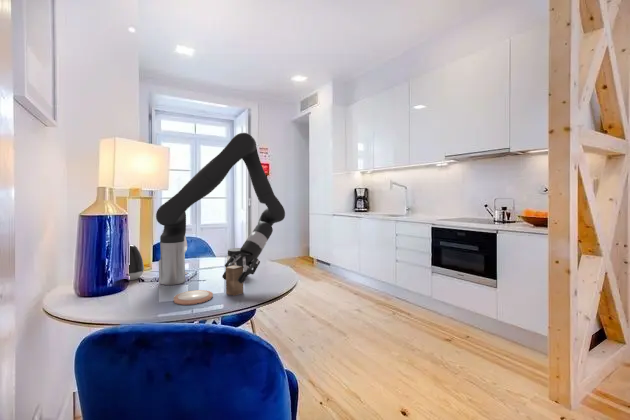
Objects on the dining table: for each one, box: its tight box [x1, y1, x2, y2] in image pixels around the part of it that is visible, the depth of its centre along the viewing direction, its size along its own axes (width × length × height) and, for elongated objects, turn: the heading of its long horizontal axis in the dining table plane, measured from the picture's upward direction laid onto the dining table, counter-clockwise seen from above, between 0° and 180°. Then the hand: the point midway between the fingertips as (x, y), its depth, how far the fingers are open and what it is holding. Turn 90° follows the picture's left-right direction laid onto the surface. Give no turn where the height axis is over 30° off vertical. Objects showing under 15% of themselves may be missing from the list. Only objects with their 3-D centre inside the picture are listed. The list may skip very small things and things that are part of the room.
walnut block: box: [225, 265, 244, 297], centre depth 119 cm, size 4×4×10 cm
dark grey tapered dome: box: [129, 244, 145, 281], centre depth 140 cm, size 10×10×15 cm
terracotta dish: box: [173, 289, 214, 306], centre depth 113 cm, size 13×13×1 cm
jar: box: [226, 247, 244, 272], centre depth 145 cm, size 9×8×12 cm
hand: (231, 280), depth 118 cm, fingers open, 8 cm apart
